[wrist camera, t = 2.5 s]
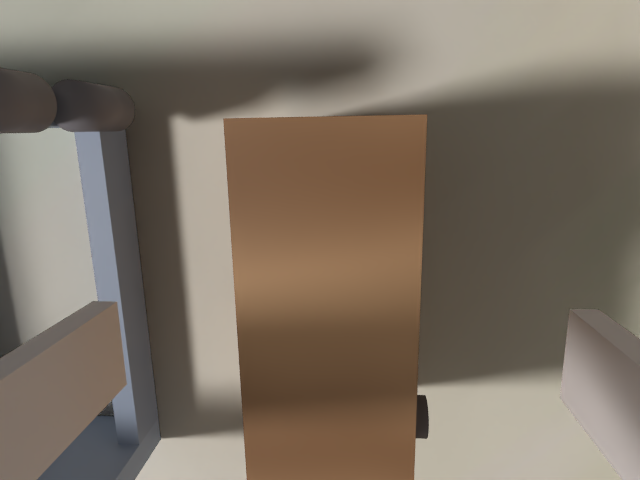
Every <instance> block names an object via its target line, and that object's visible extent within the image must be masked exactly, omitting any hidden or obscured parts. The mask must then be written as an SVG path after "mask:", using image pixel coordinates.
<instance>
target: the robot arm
mask: <svg viewBox="0 0 640 480" xmlns="http://www.w3.org/2000/svg"><path fill="white" fill-rule="evenodd" d="M126 385H127V381H126V372H125V364H124V356H123V347H122V339H121V330H120V322H119V313H118V305H117V302H110V301H93V302H91V303H89V304H88V305H86V306H84V307H83V308H81V309H80V310H78V311H76V312H75V313H73V314H71V315H70V316H68V317H66V318H65V319H63V320H62V321H60V322H58V323H57V324H55V325H53V326H52V327H50V328H49V329H47V330H45V331H44V332H42V333H40V334H39V335H37V336H36V337H34V338H32V339H31V340H29V341H27V342H26V343H24V344H23V345H21V346H19V347H18V348H16V349H14V350H13V351H11V352H9V353H8V354H6V355H5V356H3V357H1V358H0V480H37V479H38V478H39V477H40V476H41V475H42V474H43V472H44V471H45V470H46V469H47V468H48V467H49V466H50V465H51V464H52V463H53V462H54V461H55V460H56V459H57V458H58V457H59V456H60V454H61V453H62V452H63V451H64V450H65V449H66V448H67V447H68V446H69V445H70V444H71V443H72V442H73V441H74V440H75V439H76V438H77V436H78V435H79V434H80V433H81V432H82V431H83V430H84V429H85V428H86V427H87V426H88V425H89V424H90V423H91V422H92V421H93V420H94V419H95V417H96V416H97V415H98V414H99V413H100V412H101V411H102V410H103V409H104V408H105V407H106V406H107V405H108V404H109V403H110V402H111V401H112V399H113V398H114V397H115V396H116V395H117V394H118V393H119V392H120V391H121V390H122V389H123V388H124V387H125V386H126ZM560 399H561V400H562V402H563V403H564V404H565V406H566V407H567V408H568V410H569V411H570V412H571V413H572V415H573V416H574V417H575V419H576V420H577V421H578V423H579V424H580V425H581V427H582V428H583V429H584V431H585V432H586V433H587V434H588V436H589V437H590V438H591V440H592V441H593V442H594V444H595V445H596V446H597V448H598V449H599V450H600V451H601V453H602V454H603V455H604V457H605V458H606V459H607V461H608V462H609V463H610V465H611V466H612V467H613V469H614V470H615V471H616V472H617V474H618V475H619V476H620V478H621V479H622V480H640V339H639V338H638V337H636V336H635V335H633V334H632V333H631V332H629V331H628V330H627V329H625V328H624V327H622V326H621V325H620V324H618V323H617V322H615V321H614V320H613V319H611V318H610V317H609V316H607V315H606V314H604V313H603V312H602V311H600V310H599V309H569V319H568V328H567V337H566V346H565V355H564V365H563V374H562V383H561V392H560Z"/></svg>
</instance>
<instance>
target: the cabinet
mask: <svg viewBox="0 0 640 480" xmlns="http://www.w3.org/2000/svg"><path fill="white" fill-rule="evenodd" d="M134 116H135V107H134V103H133V101H132V99H131V97H130V96H129V95H128V93H126V92H125V91H124V90H122V89H120V88H118V87H113V86H107V85H101V84H95V83H89V82H83V81H77V80H70V79H67V80H62V81H59V82H57V83H56V84H55V85H54V86H53V87H52V88H51V87H50V85H49V84H48V83H47V82H46V81H45V80H44V79H43V78H41V77H40V76H38V75H36V74H33V73H28V72H22V71H16V70H10V69H4V68H0V133H36V132H41V131H43V130H45V129H47V128H62V129H64V130H66V131H70V132H75V139H76V146H77V153H78V161H79V168H80V175H81V182H82V189H83V196H84V203H85V211H86V218H87V225H88V232H89V239H90V246H91V253H92V261H93V268H94V275H95V282H96V289H97V296H98V301H110V302H117V305H118V313H119V322H120V330H121V339H122V347H123V356H124V364H125V372H126V381H127V385H126V386H125V387H124V388H123V389H122V390H121V391H120V392H119V393H118V394H117V395H116V396H115V397H114V398H113V399H112V403H113V410H114V416H96V417H95V419H94V420H93V421H92V422H91V423H90V424H89V425H88V426H87V427H86V428H85V429H84V430H83V431H82V432H81V433H80V434H79V435H78V436H77V438H76V439H75V440H74V441H73V442H72V443H71V444H70V445H69V446H68V447H67V448H66V449H65V450H64V451H63V452H62V453H61V454H60V456H59V457H58V458H57V459H56V460H55V461H54V462H53V463H52V464H51V465H50V466H49V467H48V468H47V469H46V470H45V471H44V472H43V474H42V475H41V476H40V477H39V478H38V479H37V480H135V478H136V477H137V475H138V474H139V472H140V471H141V469H142V468H143V466H144V464H145V463H146V461H147V460H148V458H149V457H150V455H151V454H152V452H153V450H154V449H155V447H156V446H157V444H158V443H159V441H160V440H161V437H160V428H159V420H158V411H157V402H156V393H155V385H154V376H153V367H152V358H151V350H150V341H149V332H148V324H147V315H146V306H145V297H144V289H143V280H142V271H141V262H140V254H139V245H138V236H137V227H136V219H135V210H134V201H133V193H132V184H131V175H130V166H129V158H128V149H127V140H126V131H125V129H126V128H128V127H129V126H130V125H131V123H132V122H133V119H134Z"/></svg>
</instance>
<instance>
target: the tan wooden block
mask: <svg viewBox="0 0 640 480" xmlns="http://www.w3.org/2000/svg"><path fill="white" fill-rule="evenodd" d="M224 135H225V150H226V165H227V181H228V196H229V212H230V227H231V242H232V258H233V273H234V289H235V304H236V319H237V335H238V350H239V365H240V381H241V396H242V412H243V427H244V442H245V458H246V473H247V480H414V464H415V438H425V439H427V437H428V428H429V419H428V406H427V399H426V396H425V395H417V382H418V355H419V327H420V300H421V272H422V245H423V218H424V190H425V163H426V135H427V114H426V115H376V116H327V117H277V118H228V119H224Z"/></svg>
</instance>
